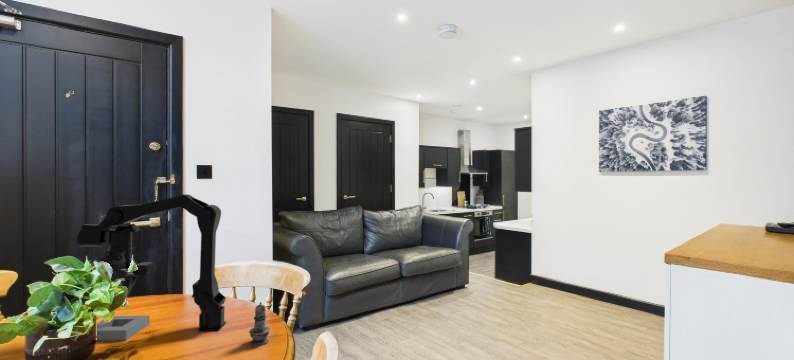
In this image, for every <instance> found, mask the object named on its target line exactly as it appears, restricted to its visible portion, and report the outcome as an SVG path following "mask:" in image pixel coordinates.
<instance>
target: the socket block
mask: <svg viewBox="0 0 794 360" xmlns="http://www.w3.org/2000/svg"><path fill="white" fill-rule="evenodd" d="M113 316H114V317H113V319H112V320H111V321H110V322H105V321H104V319H102V320H100V321H98V322H96V323H97V340H102V341H101V342H113V341H114V342H115V341H119V342H120V341H122V342H123V341H128V340H129V339H131V338H132V337H133V336H135V335H136V334H138V333H140V332H141V331H142V330H144V329H145V328H146V327H149V326H150V319H151V318H150V315H113Z"/></svg>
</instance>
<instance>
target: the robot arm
mask: <svg viewBox="0 0 794 360" xmlns="http://www.w3.org/2000/svg"><path fill="white" fill-rule="evenodd" d="M179 208H182V209H184V210H185V211H187V212H188V214H190V215H192V216H194V217H196V221H197V227H198V229H199V231H200V258H199V260H200V262H199V263H200V264H199V277H198V278H199V279H198V280H197V281H196V282H194V283H192V296H191V299H193V301H194V303H195V304H196V305H197V306H198V307H199V309H200V310H199V311H200V313H199V316H198V327H199V328H198V329H197V331H199V332H202V331H203V332H204V331H205V332H207V331H208V332H209V331H220V330H221V329H222V328H223V327H224V326H225V325H226V324H227V321H225V310H226V309H225V305H224V304H225V302H226V299H227V297H225V295H224V294H223V293H221V292H220V289H219V283H218V279H217V277H216V244H217V243H216V241H217V230H218V227H219V226H220V220H221V217H222V210H221V208H220V207H219V206H218V205H216V204H208V203H206V202H205V201H202V200H200V199H198V198H196V197H194V196H192V195H191V194H187V193H185V194H179V195H178V196H173V197H169V198H165V199H164V198H163V199H159V200H155V201H151V202H147V203H142V204H126V205H117V206H113V207H110V208H109V209H108V210H107V212H106V214H105V215H106V216H105V217H104V218H103V219H102V220H101V221H100V223H99V224H93V223H86V224H85V223H84V224H82V225H81V229H80V231H78V235H77V236H76V242H77V245H78V246H79V247H105V246H106V244H108V250H105V252H104V257H103V258H100V259H99V260H98V261H97V262H100V261H104V262H107V263H109V264H110V266H111V267H112V269H113V274H112V280H115V279H117V272H127V274H125V275H123V276H122V278H124V279H125V286H126V287H127V288H128V294H127V297H128V296H129V295H130V293H131V290H132V288H133V286H134V285H135V283H136V281H137V280H138V278H139V276H146V275H149V274H152V273H153V272H156V271H157V265H156V263H155V262H154V261H150V262H149V261H145V262H144V261H143V262H140V263H137V264H136V265H137V267H138V270H136V271H133V272H128V268H129V266H130V263H131V261H132V253H133V252H134V251H135V247H133V233H135V232H139V231H141V227H139V226H138V225H136V224H135V223H132V222H134V221H137V220H139V219H142V218H143V217H146V216H148V215H153V214H157V213H161V212H166V211H170V210H175V209H179ZM128 223H129V225H125V224H128ZM114 227H115V228H114ZM133 261H134V260H133ZM134 262H135V261H134ZM90 264H91V265H92V266H94V262H91V263H90ZM223 305H224V306H223Z"/></svg>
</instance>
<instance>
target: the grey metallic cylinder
mask: <svg viewBox="0 0 794 360" xmlns="http://www.w3.org/2000/svg"><path fill="white" fill-rule="evenodd" d="M118 280H122V281H121V283H120V285H121V286H125V279H124V278H123V277H122V278H116V279H115V280H112V281H118ZM127 305H128V296H126V302H125V304H124V306H122V307H121V308H124V307H126V306H127Z"/></svg>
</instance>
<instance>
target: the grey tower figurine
mask: <svg viewBox="0 0 794 360" xmlns="http://www.w3.org/2000/svg"><path fill="white" fill-rule="evenodd" d="M254 314H255V315H254V317H253V320H254V326H253V328H251V329H249V332H248V333H249V335H250V338H251V341H249V345H250V346H252V347H262V346H265V345H267V344H268V343H269V341H270V339H268V338H267V337H268V336H269V334H270V331H271V328H270V327H269V326H266V319H267V316H266V306H265V305H264V304H262V302H261V301H260V302H259V304H258V305H256V307H255V309H254Z"/></svg>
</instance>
